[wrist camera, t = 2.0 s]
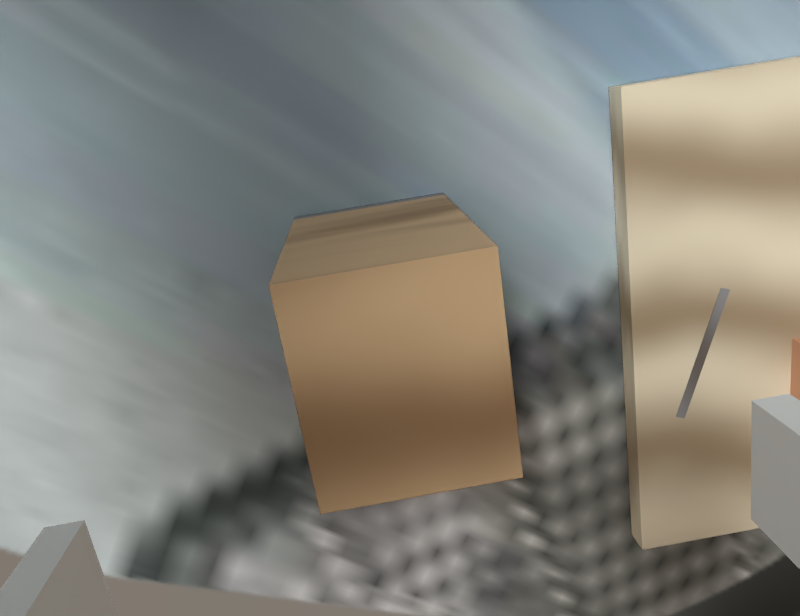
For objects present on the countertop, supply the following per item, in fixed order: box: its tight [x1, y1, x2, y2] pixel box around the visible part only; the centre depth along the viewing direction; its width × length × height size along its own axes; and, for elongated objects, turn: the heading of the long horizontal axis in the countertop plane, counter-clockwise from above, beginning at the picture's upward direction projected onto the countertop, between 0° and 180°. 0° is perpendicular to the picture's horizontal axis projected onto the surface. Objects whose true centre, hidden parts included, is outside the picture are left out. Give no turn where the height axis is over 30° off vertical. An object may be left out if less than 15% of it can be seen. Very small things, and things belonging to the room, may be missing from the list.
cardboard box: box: [269, 193, 523, 514], centre depth 23 cm, size 7×6×10 cm
